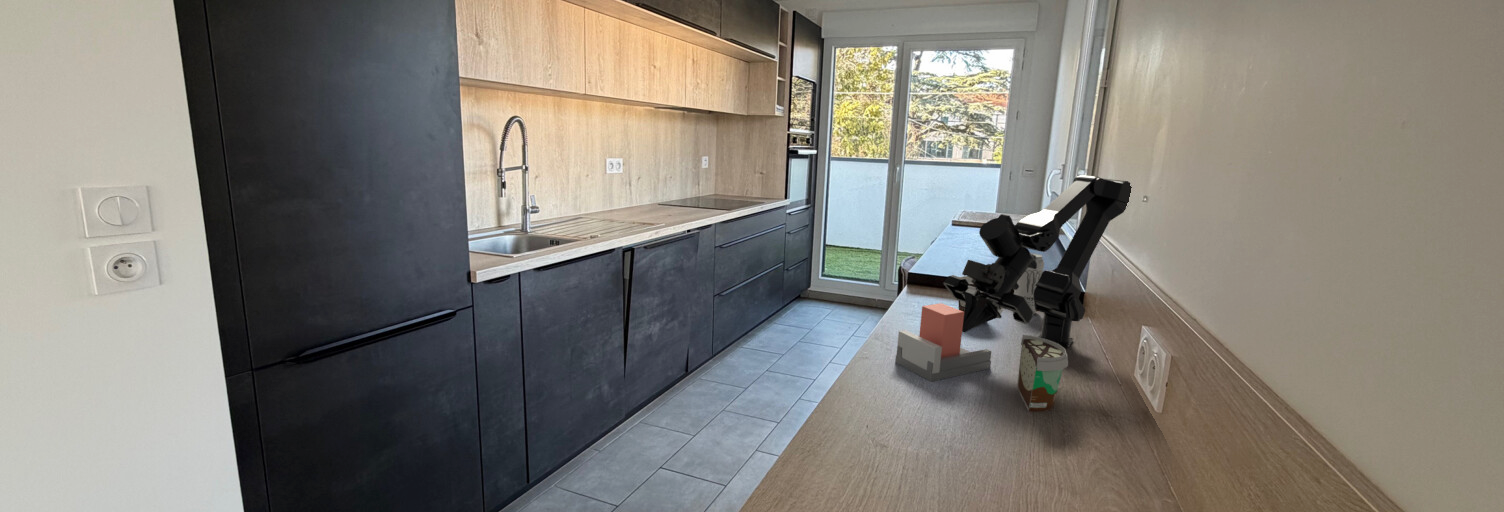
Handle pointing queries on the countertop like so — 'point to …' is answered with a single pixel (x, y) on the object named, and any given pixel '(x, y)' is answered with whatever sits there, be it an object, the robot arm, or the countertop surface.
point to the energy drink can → (1030, 282)
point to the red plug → (942, 327)
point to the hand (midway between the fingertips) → (961, 330)
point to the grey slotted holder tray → (937, 358)
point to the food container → (1040, 372)
